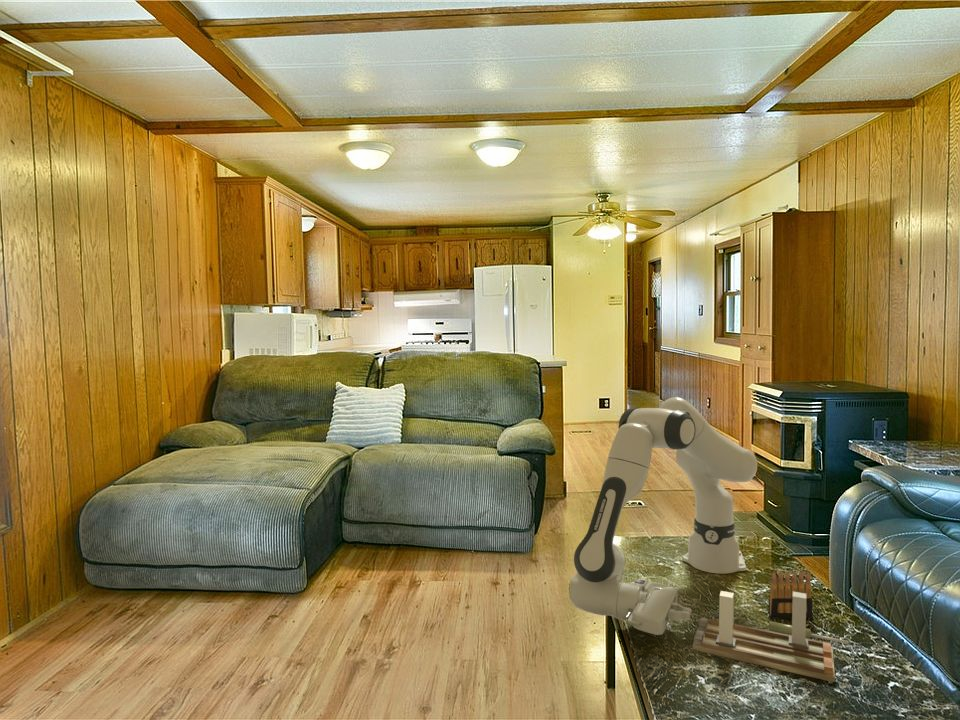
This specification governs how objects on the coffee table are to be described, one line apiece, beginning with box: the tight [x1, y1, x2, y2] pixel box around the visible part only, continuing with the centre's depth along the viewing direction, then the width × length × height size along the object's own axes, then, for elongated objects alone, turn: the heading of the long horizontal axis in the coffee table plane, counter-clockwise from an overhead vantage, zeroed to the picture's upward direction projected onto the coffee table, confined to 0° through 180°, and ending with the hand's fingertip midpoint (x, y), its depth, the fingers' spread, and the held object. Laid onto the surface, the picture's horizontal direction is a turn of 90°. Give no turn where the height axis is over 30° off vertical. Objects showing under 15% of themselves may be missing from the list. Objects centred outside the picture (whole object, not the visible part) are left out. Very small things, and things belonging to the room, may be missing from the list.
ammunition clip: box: [767, 570, 813, 619], centre depth 160 cm, size 11×2×12 cm, turn 89°
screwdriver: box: [768, 621, 850, 645], centre depth 149 cm, size 17×3×3 cm, turn 62°
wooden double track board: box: [692, 617, 836, 683], centre depth 144 cm, size 13×29×2 cm, turn 62°
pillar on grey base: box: [789, 591, 808, 649], centre depth 143 cm, size 4×4×12 cm
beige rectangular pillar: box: [716, 590, 736, 648], centre depth 144 cm, size 4×4×12 cm
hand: (690, 614), depth 148 cm, fingers closed
